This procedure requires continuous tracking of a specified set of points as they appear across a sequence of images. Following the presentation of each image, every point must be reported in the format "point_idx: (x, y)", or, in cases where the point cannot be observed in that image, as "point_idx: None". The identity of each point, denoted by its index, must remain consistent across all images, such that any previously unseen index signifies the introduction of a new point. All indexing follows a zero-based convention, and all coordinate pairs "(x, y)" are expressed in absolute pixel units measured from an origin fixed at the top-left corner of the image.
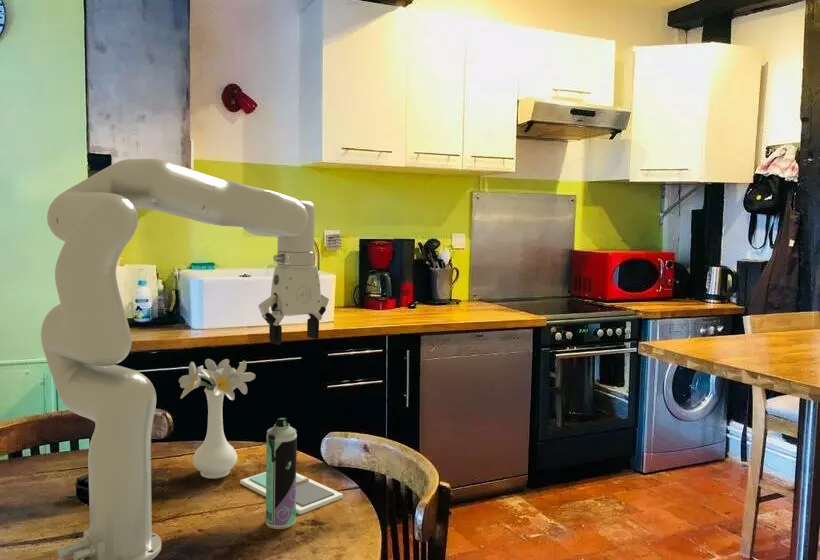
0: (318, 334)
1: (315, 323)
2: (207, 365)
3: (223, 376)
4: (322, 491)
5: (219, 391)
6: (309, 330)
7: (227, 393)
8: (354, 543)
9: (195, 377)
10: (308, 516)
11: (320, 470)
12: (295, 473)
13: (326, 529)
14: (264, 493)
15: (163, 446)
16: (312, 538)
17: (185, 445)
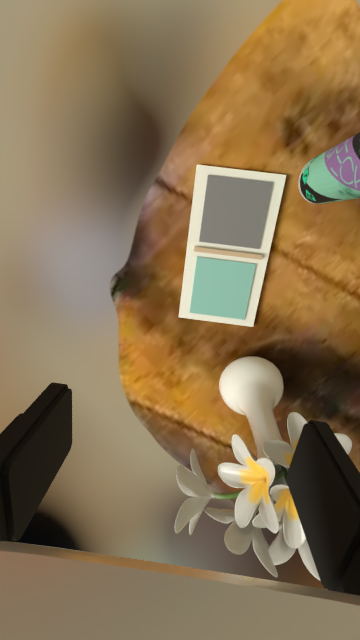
0: (42, 394)
1: (18, 459)
2: (270, 556)
3: None
4: (214, 195)
5: None
6: (54, 460)
7: (299, 434)
8: (319, 15)
9: None
10: (281, 160)
11: (142, 272)
12: (356, 134)
13: (302, 99)
14: (265, 268)
15: None
16: (339, 94)
17: (203, 464)
